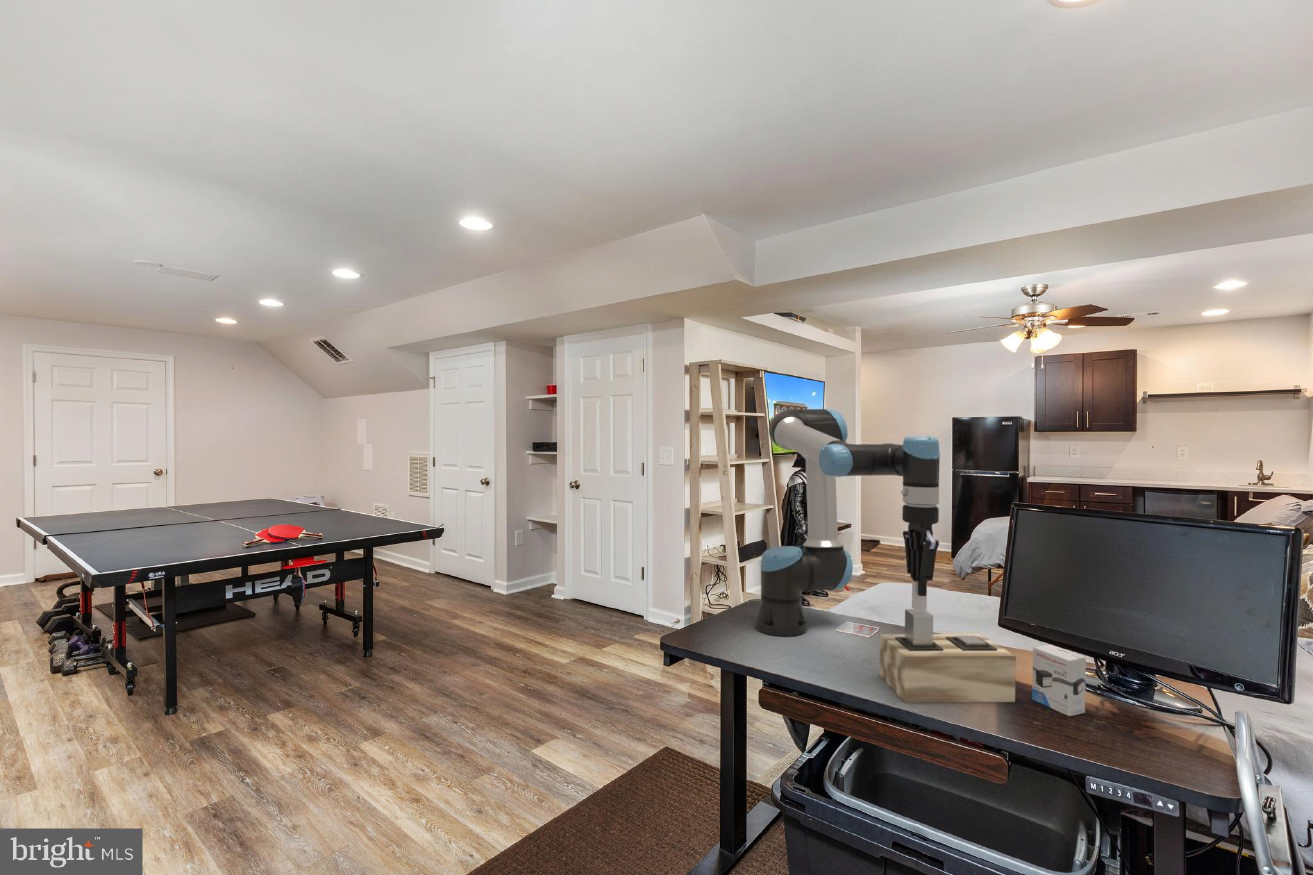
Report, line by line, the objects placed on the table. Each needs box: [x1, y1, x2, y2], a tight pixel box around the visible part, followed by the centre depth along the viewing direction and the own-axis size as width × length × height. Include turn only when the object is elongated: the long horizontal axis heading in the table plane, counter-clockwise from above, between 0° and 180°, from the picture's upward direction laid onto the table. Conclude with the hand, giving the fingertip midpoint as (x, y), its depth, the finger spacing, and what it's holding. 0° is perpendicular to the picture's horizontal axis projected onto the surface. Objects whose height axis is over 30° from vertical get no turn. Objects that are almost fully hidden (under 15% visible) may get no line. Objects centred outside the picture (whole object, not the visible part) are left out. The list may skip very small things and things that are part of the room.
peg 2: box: [956, 636, 986, 647], centre depth 137 cm, size 4×4×9 cm
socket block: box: [879, 633, 1017, 704], centre depth 137 cm, size 14×24×10 cm, turn 91°
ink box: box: [1031, 644, 1087, 717], centre depth 129 cm, size 8×5×12 cm, turn 21°
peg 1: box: [904, 608, 934, 647], centre depth 137 cm, size 4×4×9 cm
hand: (919, 608), depth 137 cm, fingers closed
